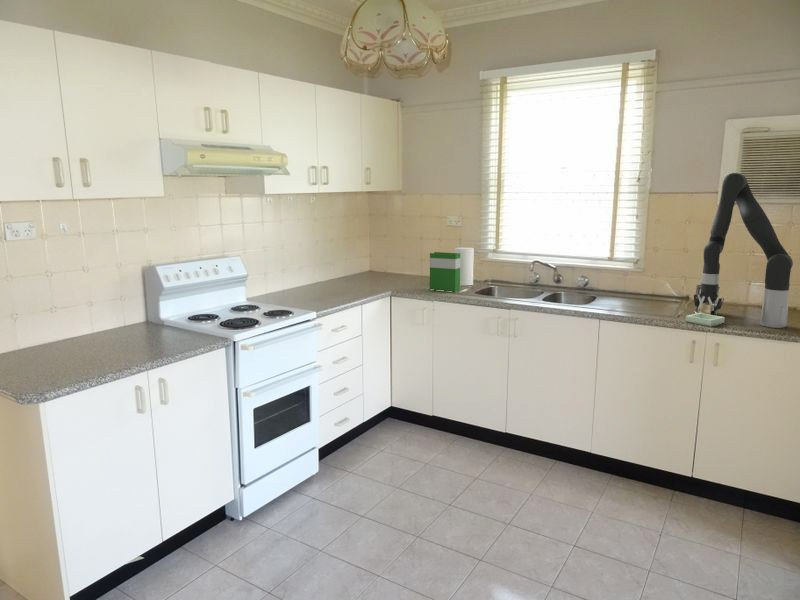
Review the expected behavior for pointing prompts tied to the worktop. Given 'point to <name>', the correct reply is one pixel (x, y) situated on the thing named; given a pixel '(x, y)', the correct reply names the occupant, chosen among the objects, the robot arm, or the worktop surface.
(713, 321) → the tray
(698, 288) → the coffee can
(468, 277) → the cylinder
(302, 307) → the worktop surface
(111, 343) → the worktop surface
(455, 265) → the green cereal box
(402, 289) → the worktop surface
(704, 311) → the maple block
